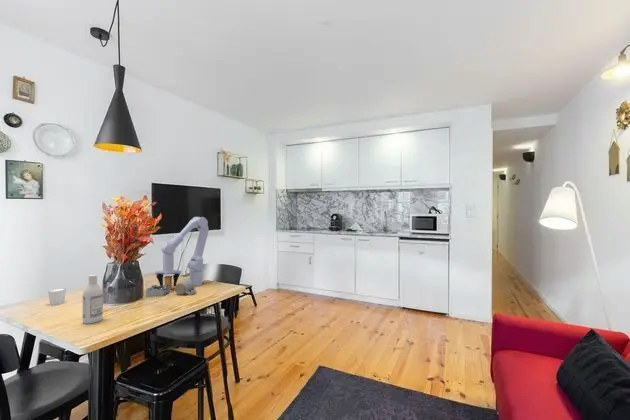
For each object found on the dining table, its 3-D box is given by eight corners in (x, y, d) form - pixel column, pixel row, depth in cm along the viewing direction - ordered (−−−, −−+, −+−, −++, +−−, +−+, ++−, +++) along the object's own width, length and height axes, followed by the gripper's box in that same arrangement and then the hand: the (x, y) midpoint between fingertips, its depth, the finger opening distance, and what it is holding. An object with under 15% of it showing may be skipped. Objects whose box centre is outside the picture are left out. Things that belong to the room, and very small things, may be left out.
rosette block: (152, 291, 172) (152, 285, 172) (168, 291, 173) (169, 284, 173) (146, 296, 163) (146, 289, 163) (163, 295, 164) (163, 288, 164)
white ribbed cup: (49, 306, 145) (50, 292, 145) (46, 303, 150) (46, 290, 150) (67, 303, 151) (67, 289, 151) (63, 300, 155) (64, 287, 155)
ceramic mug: (173, 295, 166) (173, 281, 165) (182, 291, 174) (183, 278, 174) (190, 296, 163) (190, 283, 163) (198, 292, 172) (199, 279, 171)
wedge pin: (166, 288, 179) (166, 275, 179) (172, 288, 179) (172, 275, 179) (163, 290, 175) (164, 277, 175) (170, 290, 176) (170, 277, 176)
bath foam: (106, 317, 131) (106, 273, 131) (96, 323, 124) (96, 276, 124) (89, 318, 130) (89, 273, 130) (78, 324, 123) (78, 277, 123)
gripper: (152, 265, 172) (152, 288, 172) (178, 264, 174) (178, 287, 174) (157, 263, 179) (157, 285, 179) (182, 262, 181) (182, 284, 181)
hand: (168, 286), depth 177 cm, fingers open, 7 cm apart
